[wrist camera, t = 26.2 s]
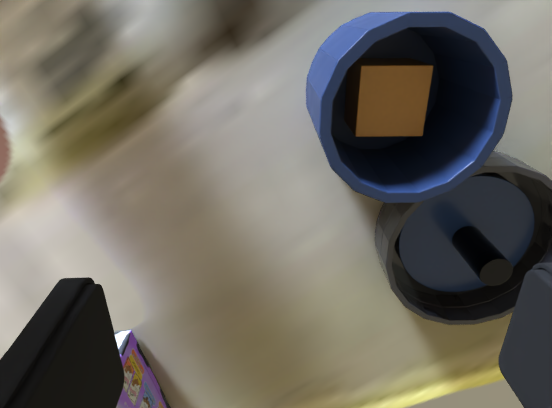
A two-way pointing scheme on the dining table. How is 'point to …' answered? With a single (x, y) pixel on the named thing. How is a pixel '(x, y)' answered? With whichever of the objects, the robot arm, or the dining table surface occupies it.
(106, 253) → the dining table surface
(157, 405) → the candy box
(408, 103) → the block
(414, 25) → the pot
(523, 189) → the pan
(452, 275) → the lid
